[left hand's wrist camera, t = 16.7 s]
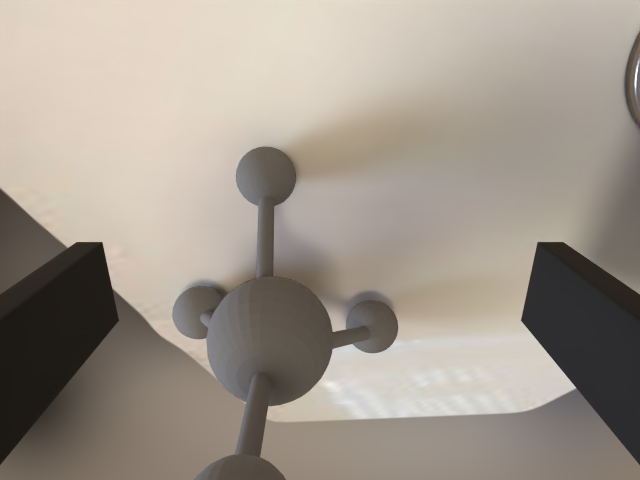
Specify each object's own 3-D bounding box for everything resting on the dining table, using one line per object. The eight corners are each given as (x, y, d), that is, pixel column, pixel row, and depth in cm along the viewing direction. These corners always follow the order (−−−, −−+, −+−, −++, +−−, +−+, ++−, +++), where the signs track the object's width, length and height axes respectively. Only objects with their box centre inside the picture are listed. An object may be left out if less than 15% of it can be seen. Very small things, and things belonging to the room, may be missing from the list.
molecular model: (393, 134, 39) (574, 278, 11) (392, 329, 47) (496, 691, 20) (150, 149, 40) (-246, 322, 12) (190, 340, 48) (11, 706, 20)
